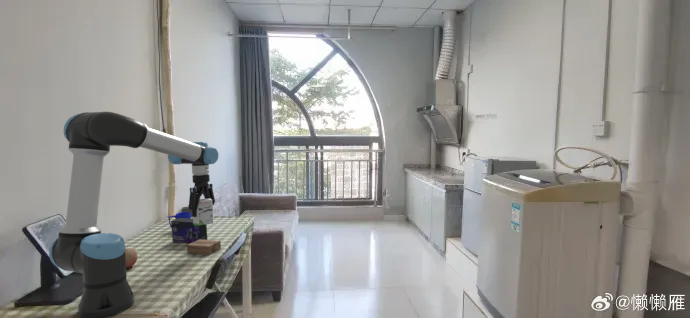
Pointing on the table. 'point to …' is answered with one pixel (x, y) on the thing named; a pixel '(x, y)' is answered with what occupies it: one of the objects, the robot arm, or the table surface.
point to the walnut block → (204, 247)
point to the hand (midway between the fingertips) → (203, 220)
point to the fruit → (130, 257)
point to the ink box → (205, 212)
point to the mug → (181, 216)
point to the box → (187, 231)
